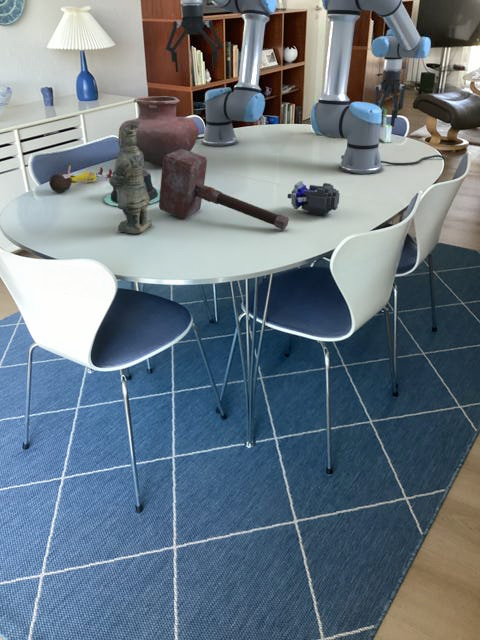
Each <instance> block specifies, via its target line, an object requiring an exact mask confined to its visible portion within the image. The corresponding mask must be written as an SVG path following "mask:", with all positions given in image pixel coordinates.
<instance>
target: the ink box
mask: <svg viewBox="0 0 480 640" xmlns="http://www.w3.org/2000/svg"><path fill="white" fill-rule="evenodd" d="M381 111H382V112H383V116H382V125H381V128H380V137H379V141H382V142H383V143H391V139H392V129H393V127H392V126H391V124H389V123H388V122H387V114H388V113H387V112H388V111H387V109H386V108H385V107H384V106H383V107H382V110H381Z"/></svg>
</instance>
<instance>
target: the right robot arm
mask: <svg viewBox="0 0 480 640" xmlns="http://www.w3.org/2000/svg"><path fill="white" fill-rule="evenodd" d="M321 2H322V7H323V9H324V10H325V11H326V17H327V18H328V19H329V21H330V23H329V33H328V43H327V53H326V60H325V61H326V62H325V63H326V64H325V72H324V81H323V92H322V94H321V95H320V96H319V97H318V101H317V102H315V103H314V104H313V106H312V109H311V110H310V125H311V128H312V130H313V132H314V133H316V134H317V135H320V136H324V137H326V138H327V137H331V138H339V139H345V140H346V149H345V151H344V154H343V155H341V156H340V157H341V158H340V160H341V162H340V170H341V171H343V172H345V173H349V174H355V175H356V174H357V175H369V174H370V175H371V174H376V173H378V172H380V171H382V164H386V165H392V166H393V165H394V166H408V165H417V164H419V163H421V162H422V161H423V160H424V161H425V160H429V159H432V158H433V159H434V158H441V159H442V160H443V161H445V160H446V157H445V156H443V155H441V154H434V155H429V156H424V157H421V158H420V159H419V160H417V161H410V162H393V161H392V162H391V161H387V160H381V155H380V150H379V147H380V145H379V144H380V139H379V137H380V128H381V125H382V116H383V115H384V111H383V110H382V107H383V108H384V104H385V101H386V98H387V96H388V94H391V96H392V104H393V110H391V118H390V125H391V126H392V128H394V127H395V121H396V119H397V118H398V112H399V111H401V110H403V108H404V99H405V98H404V97H405V91H406V89H407V85H406V84H401V74H402V71H401V70H402V67H403V59H417V60H418V59H426V58H427V57H428V55H429V54H430V50H431V44H432V43H431V42H432V41H431V39H430V37H427V36H421V34H419V32H418V30H417V28H416V26H415V23H414V22H413V20H412V19H411V17H410V15H409V13H408V11H407V9H406V7H405V5H404V4H403V0H321ZM362 11H372V12H374V13H375V14H376V15H377V16H378V17H380V18H382V19H383V20H384V22H385V23H386V25H387V26H388V28H389V29H388V30H386V34H385V35H384V36H382V35H380V36H378V37H376V38H375V39H374V40H373V41H372V43H371V46H370V50H371V53H372V55H373V56H374V57H375V58H378V59H379V58H381V59H382V58H383V71H382V76H381V82H380V84H378V85H374V99H373V103H371V102H366V101H353V102H351V103H350V101H351V100H350V98H349V97H348V95H347V93H348V85H349V84H348V83H349V77H350V75H349V74H350V67H351V58H352V50H353V42H354V34H355V33H354V32H355V26H356V22H357V21H358V20H359V19H360V18H361V12H362ZM381 89H382V92H381ZM397 90H399V94H398V91H397ZM380 92H381V97H380ZM397 95H399V96H397ZM381 110H382V111H381Z"/></svg>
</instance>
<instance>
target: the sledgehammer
mask: <svg viewBox="0 0 480 640" xmlns="http://www.w3.org/2000/svg"><path fill="white" fill-rule="evenodd" d="M207 164H208V159H207V158H206V157H205V156H203V155H200V154H197V153H195V152H193V151H187V150H184V149H179V150H177V151H174V152H172V153H170V154H167V155H165V156H164V158H163V165H161V166H162V167H161V176H160V187H159V190H160V198H159V200H158V208H159V210H160V211H162V212H165V213H168V214H170V215H173V216H174V217H177V218H180V219H182V220H185V219H187V218H188V217H190V216H192V215H193V214H195V213H197V212H198V211H199V210H200V209H201V207H202V201H203V200H204V201H207V202H209V203H213V204H215V205H220V206H223V207H225V208H228V209H231V210H233V211H236V212H239V213H241V214H243V215H245V216H248V217H252V218H255V219H257V220H260V221H262V222H264V223H267V224H270V225H273V226H274V228H276V229H280V230H282V231H285V230H286V228H287V227H288V224H289V221H290V218H289V217H288V216H286V215H283V214H281V213H279V214H277V213H275V212H273V211H269V210H267V209H265V208H262V207H259V206H256V205H254V204H251V203H248V202H246V201H244V200H242V199H238V198H236V197H233V196H231V195H228V194H225V193H223V192H222V191H220V190H218V189H215V188H214V187H211V186H208V185H205V181H206V175H207Z"/></svg>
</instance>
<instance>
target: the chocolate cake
mask: <svg viewBox="0 0 480 640" xmlns="http://www.w3.org/2000/svg"><path fill="white" fill-rule="evenodd" d="M113 175H114V171H112V175H111V176H113ZM143 178H144V182H145V184H146V188H147V192H148V195H149V197H150V204H154V203H157V202H159V198H160V188H156V187H154V185H153V182H152V174H151V172H149V171H148V170H146V169H144V168H143ZM103 200H104V202H105V203H106V204H108V205H109V206H115V207H118V202H117V192H116V189H115V188H114V187H112V191H111V193H108V194H107V195H106V196H104V198H103ZM150 204H149V205H150Z"/></svg>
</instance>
